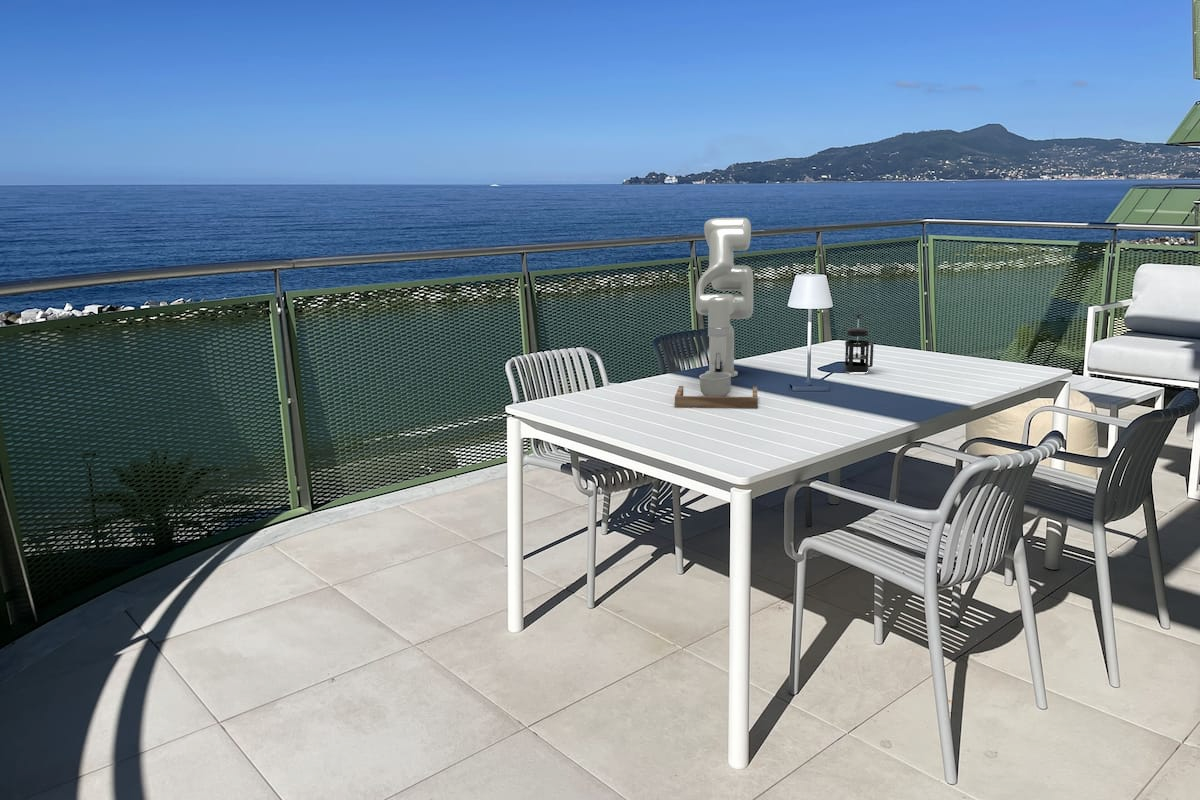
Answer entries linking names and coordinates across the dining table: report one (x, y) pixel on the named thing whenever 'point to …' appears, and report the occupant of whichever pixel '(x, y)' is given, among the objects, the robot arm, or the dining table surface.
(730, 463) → the dining table surface
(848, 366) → the french press
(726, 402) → the walnut bay
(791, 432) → the dining table surface
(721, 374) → the teacup
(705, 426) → the dining table surface
